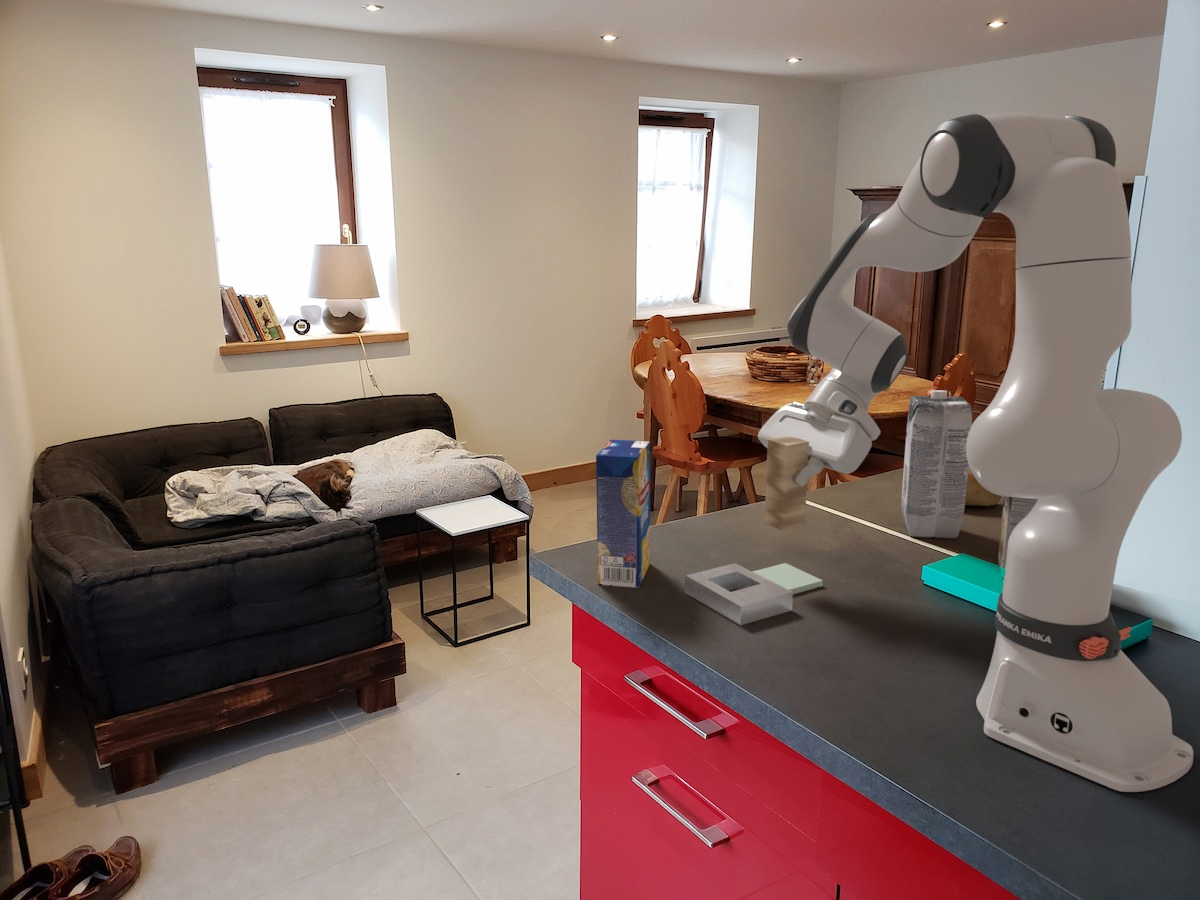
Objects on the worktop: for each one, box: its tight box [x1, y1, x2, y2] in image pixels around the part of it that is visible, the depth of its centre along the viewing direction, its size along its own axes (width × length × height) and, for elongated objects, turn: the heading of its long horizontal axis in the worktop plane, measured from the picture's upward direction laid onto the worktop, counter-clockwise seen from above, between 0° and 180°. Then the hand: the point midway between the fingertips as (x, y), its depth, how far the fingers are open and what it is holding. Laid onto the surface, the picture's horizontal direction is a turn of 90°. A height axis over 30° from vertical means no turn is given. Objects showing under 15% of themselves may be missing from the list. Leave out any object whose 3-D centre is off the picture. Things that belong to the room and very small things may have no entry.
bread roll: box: [965, 467, 1002, 507], centre depth 184 cm, size 10×15×8 cm, turn 79°
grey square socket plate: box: [684, 562, 794, 626], centre depth 139 cm, size 14×10×3 cm
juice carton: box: [900, 389, 974, 539], centre depth 166 cm, size 9×10×27 cm
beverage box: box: [595, 439, 651, 588], centre depth 148 cm, size 7×11×22 cm, turn 167°
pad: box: [752, 562, 824, 595], centre depth 146 cm, size 9×9×1 cm
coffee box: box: [997, 496, 1038, 568], centre depth 148 cm, size 9×6×16 cm
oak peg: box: [764, 436, 809, 532], centre depth 142 cm, size 4×4×14 cm
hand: (783, 478), depth 142 cm, fingers closed on oak peg, 4 cm apart
